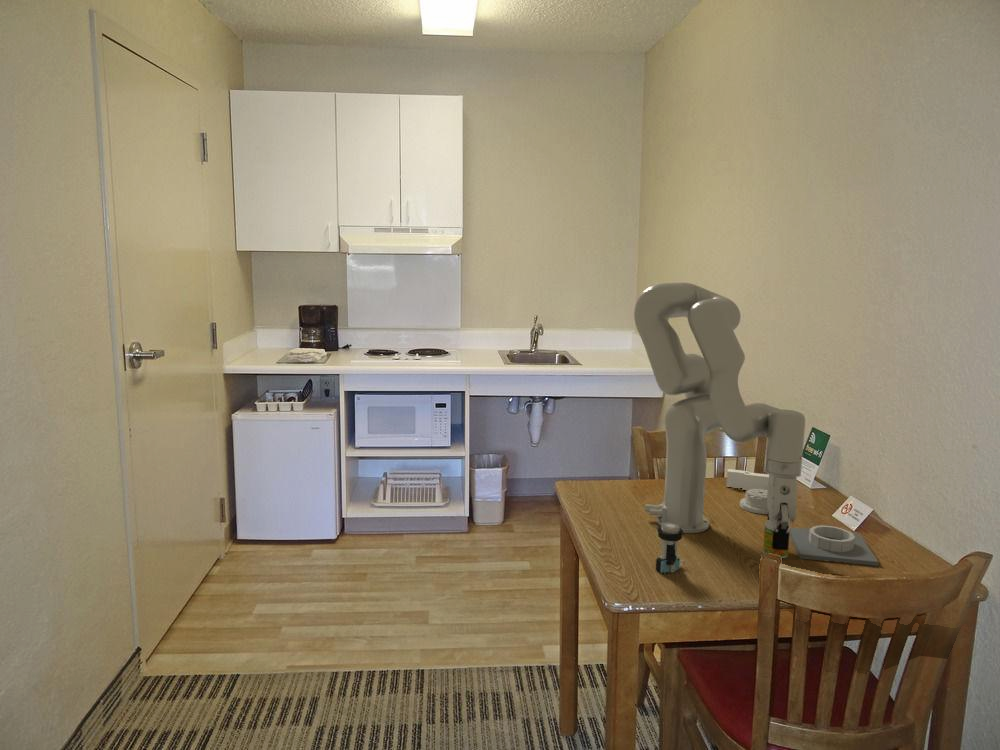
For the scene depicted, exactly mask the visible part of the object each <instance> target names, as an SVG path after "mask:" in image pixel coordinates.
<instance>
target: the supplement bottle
mask: <svg viewBox="0 0 1000 750" xmlns="http://www.w3.org/2000/svg"><path fill="white" fill-rule="evenodd" d="M768 516H769V520H766V521H765V523H764V531H763V543H762V553H763V554H764V553H772V554H777V555H780V556H781V557H782V558H783V559H786V558H788V556H789V549H790V540H791V537H790V527H791V525H790V523H789V542H788V550H778V549H773V548H772V541H773V531H775V520H774V519H772V517H771V515H770V513H769V515H768ZM777 518H781V516H777ZM779 523H781V522H778V525H779Z"/></svg>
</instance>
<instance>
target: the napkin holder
mask: <svg viewBox="0 0 1000 750" xmlns="http://www.w3.org/2000/svg"><path fill="white" fill-rule="evenodd" d="M768 480H769V474H767V473H758V472H750V471H747V470H741V469H729V468H727V473H726V487H734V488H742V489H741V490H742V491H743V490H751V489H762V490H768ZM726 487H725V488H726ZM734 488H733V489H734Z"/></svg>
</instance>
